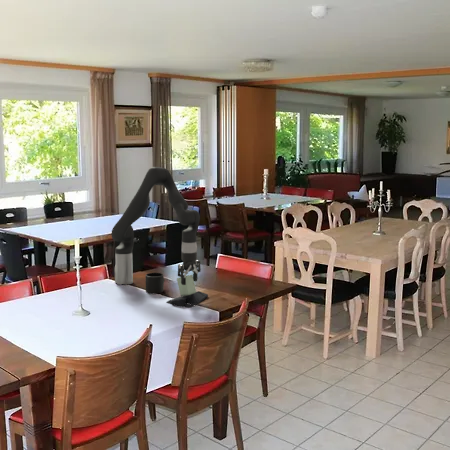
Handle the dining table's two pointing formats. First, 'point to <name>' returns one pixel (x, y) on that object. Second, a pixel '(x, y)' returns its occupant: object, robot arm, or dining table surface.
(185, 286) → the pale green block
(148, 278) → the mug
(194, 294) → the dark slate chunk
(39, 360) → the dining table surface
